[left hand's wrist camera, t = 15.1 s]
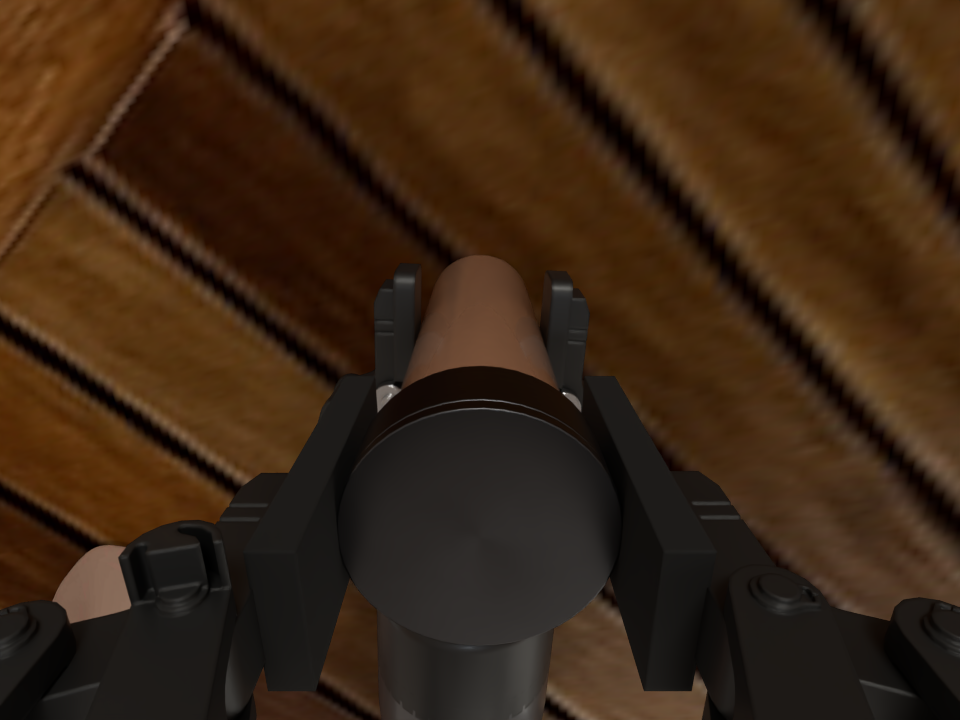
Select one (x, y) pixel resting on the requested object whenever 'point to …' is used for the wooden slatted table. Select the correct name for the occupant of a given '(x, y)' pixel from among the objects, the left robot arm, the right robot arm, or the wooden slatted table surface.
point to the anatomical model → (94, 585)
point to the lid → (479, 508)
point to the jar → (479, 323)
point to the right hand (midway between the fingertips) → (482, 273)
